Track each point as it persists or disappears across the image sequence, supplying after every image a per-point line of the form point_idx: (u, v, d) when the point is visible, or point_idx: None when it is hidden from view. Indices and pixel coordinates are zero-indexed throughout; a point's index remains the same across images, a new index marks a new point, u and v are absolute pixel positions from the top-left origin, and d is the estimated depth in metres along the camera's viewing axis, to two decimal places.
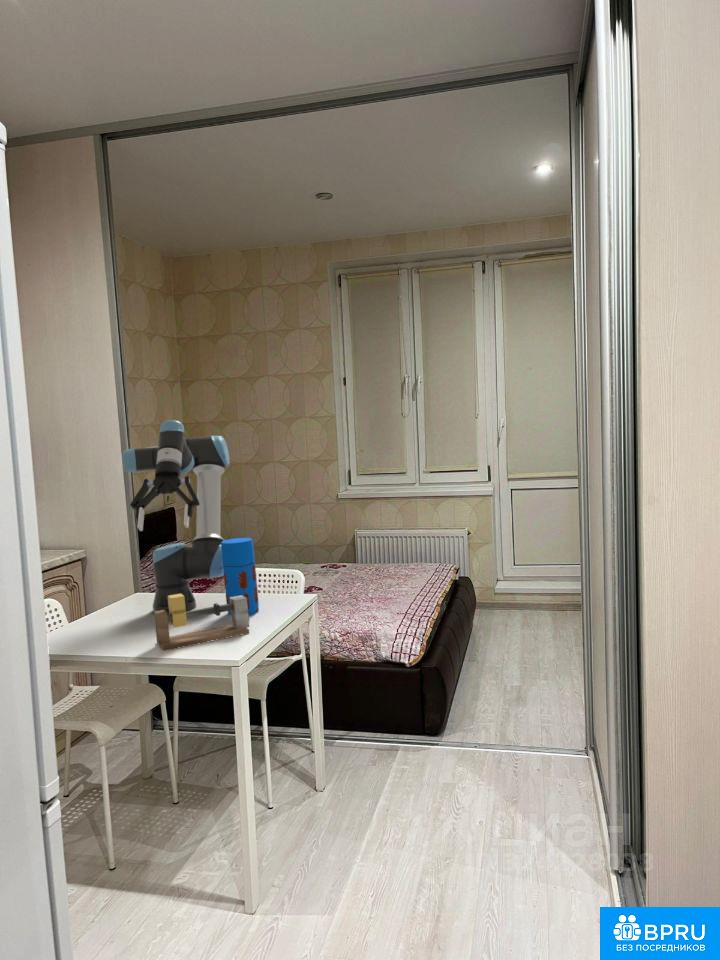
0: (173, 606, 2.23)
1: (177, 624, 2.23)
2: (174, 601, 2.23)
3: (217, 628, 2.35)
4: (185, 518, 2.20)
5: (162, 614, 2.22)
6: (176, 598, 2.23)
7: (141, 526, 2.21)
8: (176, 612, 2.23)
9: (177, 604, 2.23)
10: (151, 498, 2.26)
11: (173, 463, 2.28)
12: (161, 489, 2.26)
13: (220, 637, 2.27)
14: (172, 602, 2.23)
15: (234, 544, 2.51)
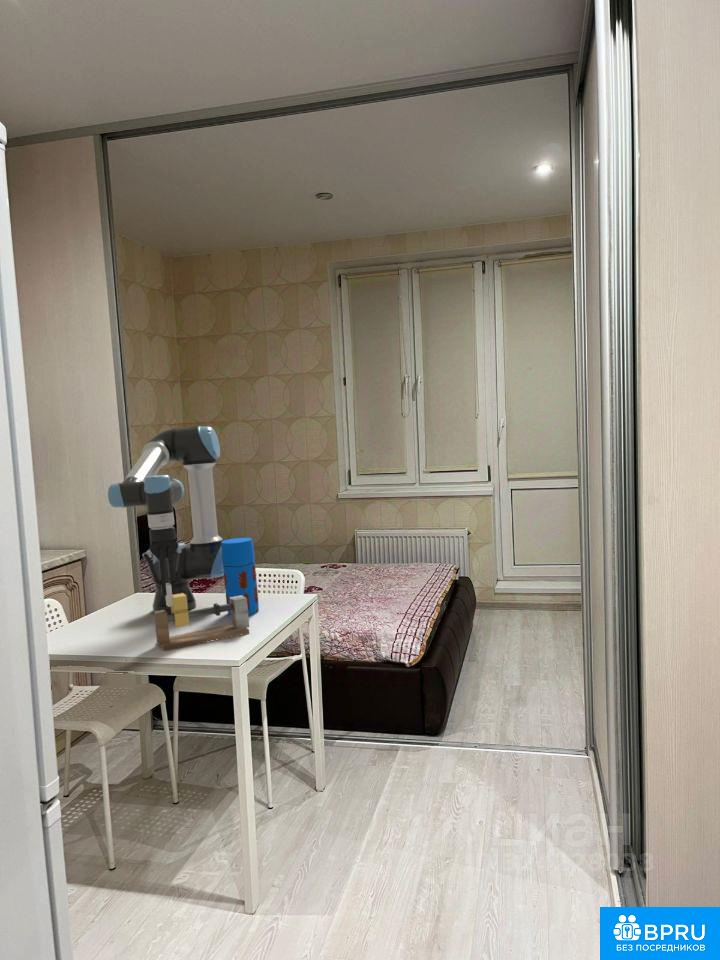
0: (175, 606, 2.23)
1: (179, 624, 2.24)
2: (176, 601, 2.23)
3: (217, 628, 2.35)
4: (171, 600, 2.23)
5: (162, 614, 2.22)
6: (178, 598, 2.23)
7: None
8: (178, 612, 2.23)
9: (179, 604, 2.24)
10: None
11: (172, 530, 2.21)
12: None
13: (220, 637, 2.27)
14: (174, 602, 2.23)
15: (234, 544, 2.51)
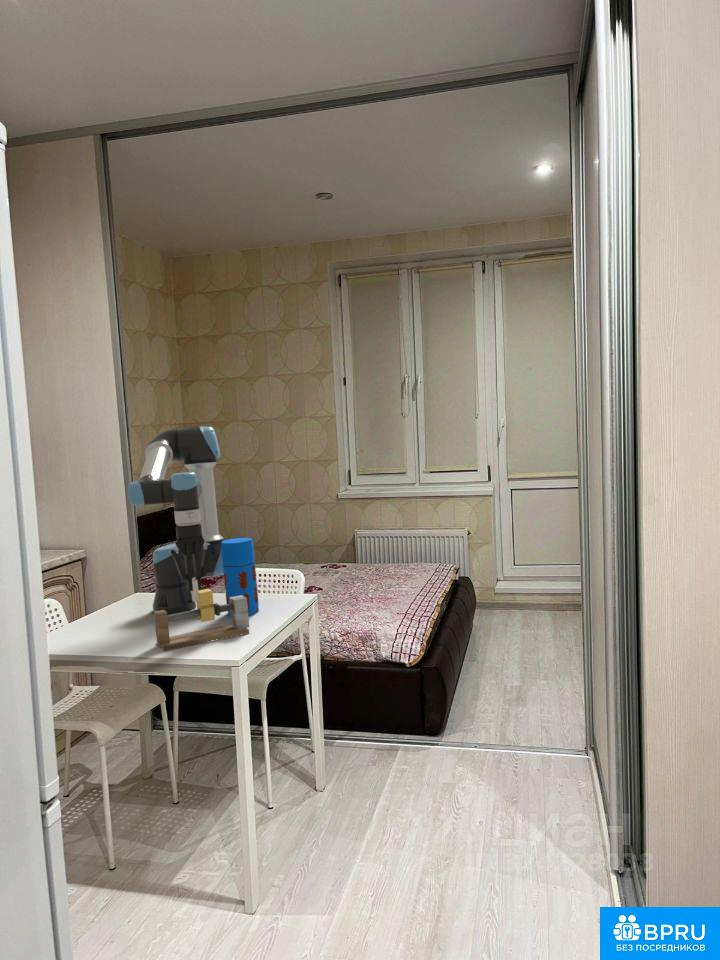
0: (201, 601, 2.27)
1: (205, 619, 2.27)
2: (202, 596, 2.27)
3: (217, 628, 2.35)
4: (197, 595, 2.27)
5: (162, 614, 2.22)
6: (204, 593, 2.27)
7: None
8: (204, 607, 2.27)
9: (205, 599, 2.27)
10: None
11: (198, 527, 2.25)
12: None
13: (220, 637, 2.27)
14: (200, 597, 2.26)
15: (234, 544, 2.51)
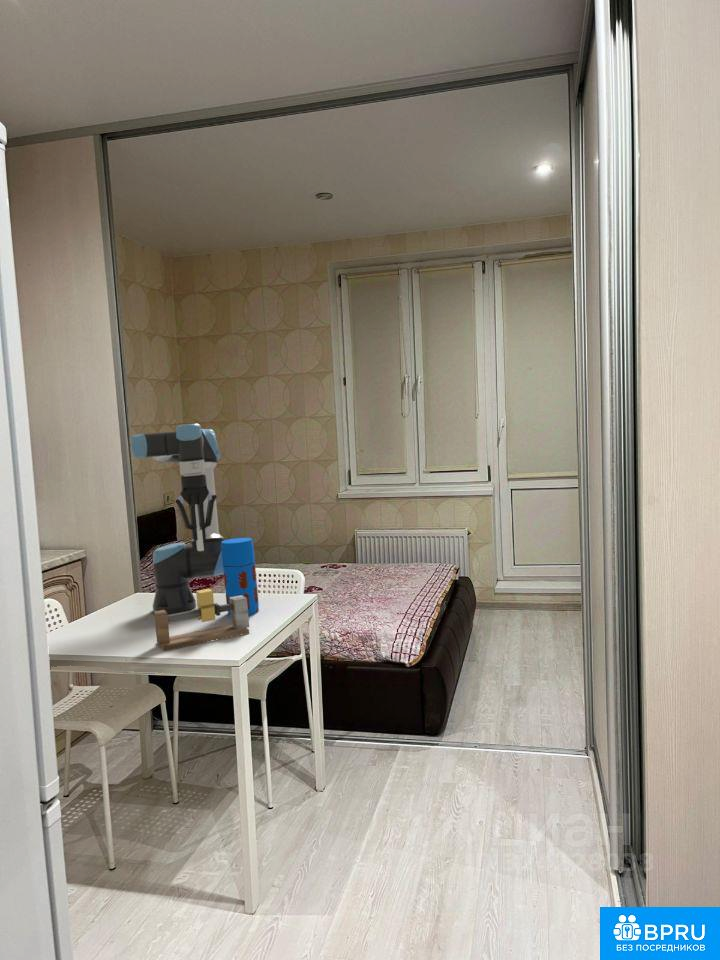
0: (202, 601, 2.27)
1: (206, 618, 2.27)
2: (203, 596, 2.27)
3: (217, 628, 2.35)
4: (202, 545, 2.31)
5: (162, 614, 2.22)
6: (205, 593, 2.27)
7: None
8: (204, 607, 2.27)
9: (206, 599, 2.27)
10: None
11: (203, 477, 2.28)
12: None
13: (220, 637, 2.27)
14: (201, 597, 2.26)
15: (234, 544, 2.51)
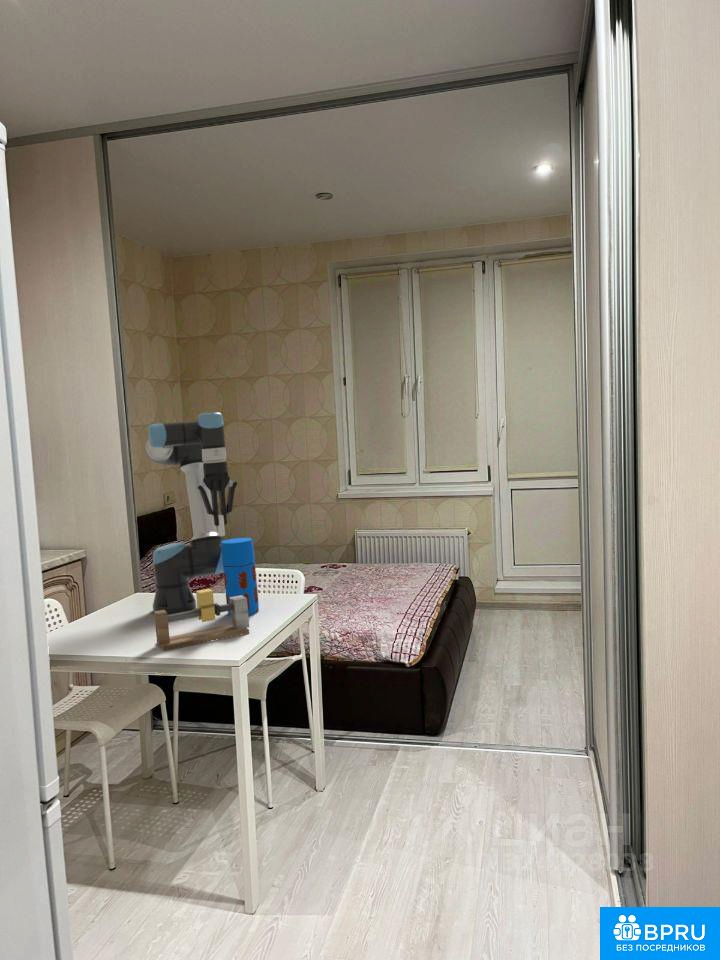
0: (202, 601, 2.27)
1: (206, 618, 2.27)
2: (203, 596, 2.27)
3: (217, 628, 2.35)
4: (223, 530, 2.38)
5: (162, 614, 2.22)
6: (205, 593, 2.27)
7: None
8: (204, 607, 2.27)
9: (206, 599, 2.27)
10: None
11: (224, 464, 2.36)
12: None
13: (220, 637, 2.27)
14: (201, 597, 2.26)
15: (234, 544, 2.51)
